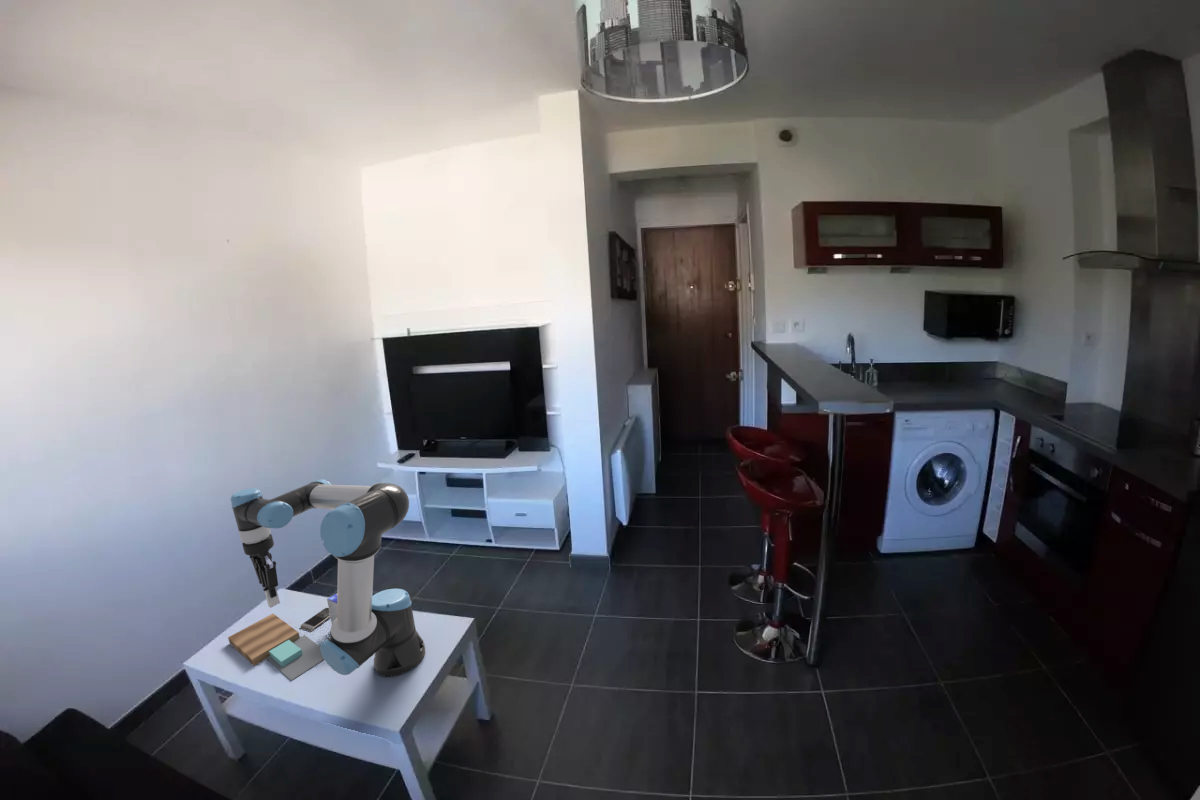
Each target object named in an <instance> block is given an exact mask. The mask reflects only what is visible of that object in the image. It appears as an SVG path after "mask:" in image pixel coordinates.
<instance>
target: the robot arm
mask: <svg viewBox="0 0 1200 800" xmlns="http://www.w3.org/2000/svg"><path fill="white" fill-rule="evenodd" d="M230 502H231V509H232V511H233V515H234V518H235V522H236V526H237V530H238V533H239V539H240V541H241V543H242V548H243V551H244V554H245V555H246V556H249V559H250V560H251V562H252V565H253V567H254V571H255V574H256V576H257V577H256V578H257V579H258V582H259V585H261V586H262V588H263V589H262V590H263V591H264V594H265V598H266V599H265V600H266V602H267V605H268V607H269V608H270V609H271V608H273V607H276V606H277V605H279V604H280V603H281V601H280V598H279V594H278V590H277V587H278V586H279V581H278V574H277V567H276V566H277V562H276V561H275V560H273V559H272V558H273V557H272V553H271V552H269V551H270V550H271V549H272V548H273V547H274V545H275V542H274V539H273V538H274V537H273V535H272V532H271V531H272V530H271V529H276V530H277V529H281V528H285V527H286V526H287V525H288V524H289V523H290V522H291V521H292V520H293V518H294V517H296V516H298V515H301V514H303V513H305V512H307V511H309V510H312V509H321V510H322V509H323V510H330V511H328V512H327V513H326V514H325V516H324V517H322V519H321V522H320V523H321V524H320V528H319V534H320V538H321V541H323V543H322V545H323V546H324V549H326V551H327V552H328V553H329V554H330V555H331V556H333V557H334V559H337V618H336V619H335V620H334V622H333V623H331V626H330V635H329V637H328V638H326V639H325V640H324V641H323V642H322V643H321V644H320V645H319V646H320V650H321V654H322V656H323V658H324V660H323V661H325V663H327V665H328V666H329V667H330V668H331V669H332V670H333V671H334V672H336V673H337V674H340V675H342V676H347V675H350V674H352V673H353V672H354V671H356V670H357V669H359V668H360V667H361V666H362V665H363V664H364V663H366V662H367V661H368V660H369V659H370V658H371V657H372V656H374V658H373V665H374V670H375V672H376V673H377V674H378V675H380V676H382V677H390V678H391V677H397V676H400V675H403V674H405V673H407V672H410V671H411V670H413V669H414V668H415V667H417V666H418V665H419V664H420V662H422V660H423V659H424V657H425V655H426V646H425V642H424V640H423V638H422V636H421V635H420V634H419V632H418V631H417V629H416V625H415V618H414V611H413V606H412V604H413V603H412V602H413V601H412V600H411V596H410V594H409V593H408V591H406V590H405V589H403V588H390V589H384V590H381V591H379V592H377V593H375V594H373V592H374V590H373V588H374V571H375V570H374V568H375V567H374V566H375V555H377V553H378V552H379V551H380V550H381V546H382V538H383V537H382V536H383V534H385V533H386V532H388V531H391V530H392V529H394V528H395V527H397V526H398V525H399V524H400V523H402V521H404V520H405V518H406V517H407V513H408V512H409V508H410V499H409V496H408V494H407V492H406V491H405V490H404V488H403V487H402V486H399V485H397V484H395V483H390V482H377V483H374V484H372V485H351V484H350V485H348V484H347V485H346V484H332V483H331V482H330V481H327V479H323V478H322V479H318V480H315V481H311V482H310V483H308V484H305V485H302V486H301V487H300V486H299V487H298V488H295V489H293V490H290V491H288V492H286V493H283V494H281V495H278V496H276V497H273V498H272V499H268V498H264V497H263V494H262V491H261V490H260V489H259V488H255V487H251V488H246V489H243V490H240V491H237V492H235V493H233V494H232V496H231V497H230Z"/></svg>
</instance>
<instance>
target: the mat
mask: <svg viewBox="0 0 1200 800" xmlns="http://www.w3.org/2000/svg"><path fill="white" fill-rule="evenodd" d="M292 643H294V644H295V645H296V646H298V647H299V648H300V649H301V650H302V654H303V655H301V656H300V657H298V658H296V659H295V660H293V661H292V662H290V663H288V664H287V665H285V666H284V667H282V666H281V665H280V664H279V663H277V662H276V661H275V660H274V659H273V658H272V657H271V656H268V657H267V658H266V659H265V660H267V661H268V662H269V663H271V665H272V666H273V667H275V668H276V669H277V670H278V671H280V673H282V675H284V676H285V677H286V678H288V679H289V680H290V682H292V681H294V680H295V679H297V678H298V677H300V676H301V675H303V674H304V673H306V672H307V671H309V670H310V669H312V668H314V667H315V666H317V665H318V664H319V663H322V662H323V661H325V660H324V658H323V656H322V654H321V650H320V646H321V645H319V644H318V643H316V642H315V641H313V640H312V639H311V638H309V637H308V636H307V635H305V634H304V635H302V636H301V637H300V638H299V639H297V640H295V641H294V642H292Z"/></svg>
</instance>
